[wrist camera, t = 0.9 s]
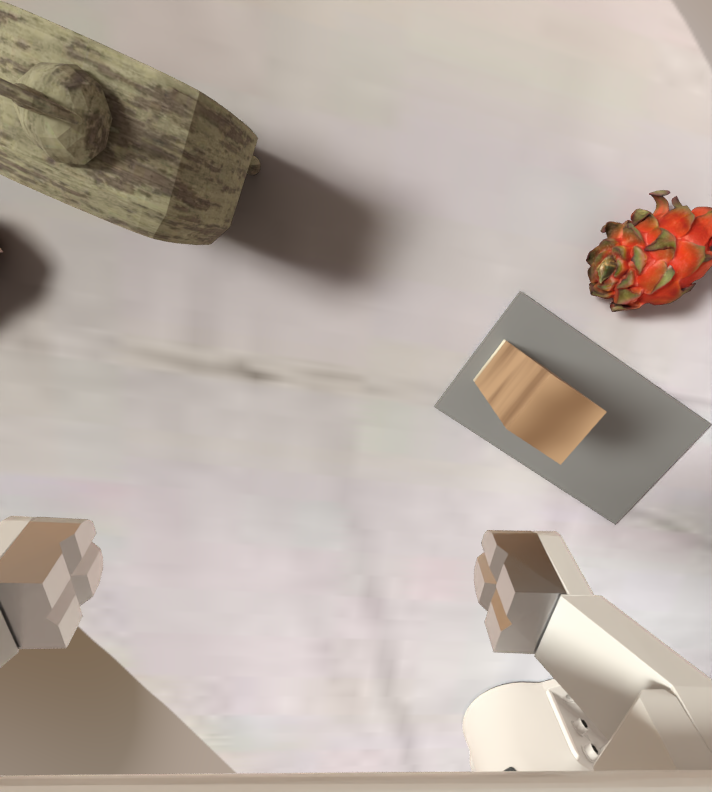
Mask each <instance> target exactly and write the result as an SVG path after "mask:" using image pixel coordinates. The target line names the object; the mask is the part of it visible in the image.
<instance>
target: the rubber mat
mask: <svg viewBox="0 0 712 792" xmlns="http://www.w3.org/2000/svg"><path fill="white" fill-rule="evenodd" d="M503 340H506V341H507V342H509V343H510V344H512V345H513V346H515V347H516V348H518V349H519V350H521V351H522V352H524V353H525V354H526V355H528V356H529V357H531V358H532V359H534V360H535V361H537V362H538V363H540V364H541V365H543V366H544V367H546V368H547V369H548V370H550V371H551V372H552V373H554V374H555V375H557V376H558V377H559V378H561V379H562V380H564V381H565V382H566V383H568V384H569V385H570V386H572V387H573V388H575V389H576V390H577V391H579V392H580V393H582V394H583V395H584V396H586V397H587V398H588V399H590V400H591V401H593V402H594V403H595V404H597V405H598V406H600V407H601V408H602V409H604V410H605V411H606V413H605V415H604V416H603V417H602V418H601V419H600V420H599V421H598V423H597V424H596V425H595V426H594V427H593V428H592V429H591V431H590V432H589V433H588V434H587V435H586V436H585V437H584V439H583V440H582V441H581V442H580V443H579V444H578V445H577V447H576V448H575V449H574V450H573V451H572V452H571V453H570V455H569V456H568V457H567V458H566V459H565V460H564V461H563V463H562V464H561V465H560V464H559V463H557V462H556V461H554V460H553V459H551V458H550V457H548V456H547V455H545V454H544V453H542V452H541V451H539V450H538V449H536V448H534V447H533V446H531V445H530V444H528V443H527V442H525V441H524V440H522V439H521V438H519V437H518V436H516V435H515V434H513V433H512V432H510V431H509V430H507V429H506V428H505V426H504V425H503V423H502V422H501V420H500V419H499V417H498V416H497V414H496V413H495V412H494V410H493V409H492V407H491V406H490V404H489V403H488V401H487V400H486V398H485V397H484V395H483V394H482V392H481V391H480V390H479V388H478V387H477V385H476V384H475V382H474V381H473V379H474V378H475V377H476V376H477V374H478V373H479V372H480V370H481V369H482V368H483V366H484V365H485V364H486V362H487V361H488V360H489V358H490V357H491V356H492V354H493V353H494V352H495V350H496V349H497V348H498V347H499V345H500V344H501V343H502V341H503ZM435 408H437V409H438V410H440V411H441V412H443V413H444V414H446V415H448V416H449V417H451V418H452V419H454V420H455V421H457V422H458V423H460V424H461V425H463V426H464V427H466V428H468V429H469V430H471V431H472V432H474V433H475V434H477V435H478V436H480V437H481V438H483V439H484V440H486V441H488V442H489V443H491V444H492V445H494V446H495V447H497V448H498V449H500V450H501V451H503V452H504V453H506V454H508V455H509V456H511V457H512V458H514V459H515V460H517V461H518V462H520V463H521V464H523V465H525V466H526V467H528V468H529V469H531V470H532V471H534V472H535V473H537V474H538V475H540V476H541V477H543V478H545V479H546V480H548V481H549V482H551V483H552V484H554V485H555V486H557V487H558V488H560V489H561V490H563V491H565V492H566V493H568V494H569V495H571V496H572V497H574V498H575V499H577V500H578V501H580V502H581V503H583V504H585V505H586V506H588V507H589V508H591V509H592V510H594V511H595V512H597V513H598V514H600V515H601V516H603V517H605V518H606V519H608V520H609V521H611V522H612V523H614V524H616V523H617V522H618V521H619V520H620V519H621V518H622V517H623V516H624V515H625V514H626V513H627V512H628V511H629V510H630V509H631V508H632V507H633V506H634V505H635V504H636V503H637V502H638V500H639V499H640V498H641V497H642V496H643V495H644V494H645V493H646V492H647V491H648V490H649V489H650V488H651V487H652V486H653V485H654V484H655V483H656V482H657V481H658V480H659V479H660V478H661V477H662V476H663V474H664V473H665V472H666V471H667V470H668V469H669V468H670V467H671V466H672V465H673V464H674V463H675V462H676V461H677V460H678V459H679V458H680V457H681V456H682V455H683V454H684V453H685V452H686V451H687V449H688V448H689V447H690V446H691V445H692V444H693V443H694V442H695V441H696V440H697V439H698V438H699V437H700V436H701V435H702V434H703V433H704V432H705V431H706V430H707V429H708V428H709V427H710V426H711V424H710V423H708V422H707V421H706V420H704V419H703V418H701V417H700V416H698V415H697V414H696V413H694V412H693V411H691V410H690V409H688V408H687V407H686V406H684V405H683V404H681V403H680V402H678V401H677V400H676V399H674V398H673V397H671V396H670V395H668V394H667V393H665V392H664V391H663V390H661V389H660V388H658V387H657V386H655V385H654V384H653V383H651V382H650V381H648V380H647V379H645V378H644V377H643V376H641V375H640V374H638V373H637V372H635V371H634V370H633V369H631V368H630V367H628V366H627V365H625V364H624V363H623V362H621V361H620V360H618V359H617V358H615V357H614V356H613V355H611V354H610V353H608V352H607V351H605V350H604V349H603V348H601V347H600V346H598V345H597V344H595V343H594V342H592V341H591V340H590V339H588V338H587V337H585V336H584V335H582V334H581V333H580V332H578V331H577V330H575V329H574V328H572V327H571V326H570V325H568V324H567V323H565V322H564V321H562V320H561V319H560V318H558V317H557V316H555V315H554V314H552V313H551V312H550V311H548V310H547V309H545V308H544V307H542V306H541V305H540V304H538V303H537V302H535V301H534V300H532V299H531V298H530V297H528V296H527V295H525V294H524V293H522V292H521V291H520V292H519V293H518V295H517V296H516V297H515V299H514V300H513V301H512V303H511V304H510V305H509V307H508V308H507V309H506V311H505V312H504V313H503V315H502V316H501V317H500V319H499V320H498V321H497V323H496V324H495V325H494V327H493V328H492V329H491V331H490V332H489V333H488V335H487V336H486V337H485V339H484V340H483V341H482V343H481V344H480V345H479V347H478V348H477V349H476V351H475V352H474V354H473V355H472V356H471V358H470V359H469V360H468V362H467V363H466V364H465V366H464V367H463V368H462V370H461V371H460V372H459V374H458V375H457V376H456V378H455V379H454V380H453V382H452V383H451V384H450V386H449V387H448V388H447V390H446V391H445V392H444V394H443V395H442V396H441V398H440V399H439V400H438V402H437V403H436V404H435Z"/></svg>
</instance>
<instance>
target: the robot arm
mask: <svg viewBox="0 0 712 792" xmlns="http://www.w3.org/2000/svg"><path fill="white" fill-rule="evenodd" d="M95 535H96V530H95V527H94V524H93V521H91V520H87V519H70V518H51V517H22V516H10V517H8V518H6V519H4V520H3V521H2V522H1V523H0V668H1V667H2V666H3V665H4V664H5V663H6V662H8V661H9V660H10V659H11V658H12V657H13V656H14V655H16V654H17V653H18V652H19V650H18V649H41V648H43V649H48V648H67V646H68V644H69V642H70V640H71V638H72V636H73V634H74V632H75V630H76V629H77V627H78V625H79V623H80V621H81V619H82V617H83V615H82V612H81V609H80V606H81V605H82V604H83V603H85V602H86V601H88V600H89V599H90V598H92V597H93V596H94V594H95V591H96V589H97V587H98V585H99V583H100V579H101V575H102V571H103V556H102V552H101V549H100V548H99V547H98V546H97V545H95V544H94V543H93V542H92V540H93V539H94V537H95ZM481 544H482V547H483V550H484V553H482V554H481V555H480V556H479V557H477V560H476V564H475V568H474V585H475V592H476V595H477V599H478V602H479V604H480V605H481V606H482V607H483V608H484V609H486V610H487V611H488V612H487V615H486V619H485V622H484V623H485V626H486V629H487V632H488V635H489V639H490V642H491V645H492V648H493V652H497V653H523V654H535V657H536V659H537V660H538V661H539V662H540V663H541V664H542V665H543V667H544V668H545V669H546V670H547V671H548V672H549V673H550V674H551V676H552V677H553V678H554V679H551V680H548V681H544V682H540V683H525V682H520V683H510V684H505V685H501V686H498V687H495V688H492V689H490V690H488V691H486V692H485V693H483V694H481V695H480V696H479V697H478V698H476V699H475V700H474V701H473V702H472V703H471V705H470V706H469V707H468V709H467V711H466V713H465V715H464V719H463V726H462V727H463V734H464V737H465V740H466V742H467V745H468V747H469V750H470V766H471V770H472V772H356V773H234V774H233V773H232V774H130V775H129V774H128V775H127V774H125V775H123V774H122V775H16V776H15V775H14V776H13V775H12V776H0V792H712V679H711V678H709V677H708V676H707V675H705V674H704V673H703V672H701V671H700V670H699V669H697V668H696V667H695V666H693V665H692V664H691V663H690V662H688V661H687V660H686V659H684V658H683V657H682V656H680V655H679V654H678V653H676V652H675V651H674V650H672V649H671V648H670V647H668V646H667V645H666V644H665V643H663V642H662V641H661V640H659V639H658V638H657V637H655V636H654V635H653V634H651V633H650V632H649V631H647V630H646V629H645V628H643V627H642V626H641V625H640V624H638V623H637V622H636V621H634V620H633V619H632V618H630V617H629V616H628V615H626V614H625V613H624V612H622V611H621V610H620V609H618V608H617V607H616V606H615V605H613V604H612V603H611V602H609V601H608V600H607V599H605V598H604V597H603V596H599V595H594V594H593V592H592V590H591V588H590V587H589V585H588V583H587V581H586V579H585V578H584V576H583V574H582V572H581V571H580V569H579V567H578V565H577V563H576V562H575V560H574V558H573V556H572V554H571V553H570V551H569V549H568V547H567V546H566V544H565V542H564V540H563V538H562V537H561V535H560V534H559V533H557V532H556V531H503V530H487V531H486V532H485V534H484V535H483V539H482V542H481Z"/></svg>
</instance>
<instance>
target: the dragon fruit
mask: <svg viewBox="0 0 712 792" xmlns="http://www.w3.org/2000/svg"><path fill="white" fill-rule="evenodd" d="M668 194H670V191H667V190H659V191H655V192H652V193H649V195H651V196H652V197H653V198H654V200H655V201H656V210H655V212H654V213H653V214H652V213H651V212H649V211H647V210H642V209H636V210H635V211H634V212H633V213H632V215H631V220H632V221H630V220H627V221H625V222H624V223H623V224H621V223H617V222H612V221H611V222H607V223H606V225H605V226H603V227H602V229H601V232H602V233H605V232H606V234H607V239H604V240H603V241H602V242H601V243H600V244H599V246H597V247H596V248H595V249H593V250H592V251H590V252H589V254H588V256H587V259H586V261H587V262H588V264H589V265H590V266H591V267H590V268H589V269H588V277H589V279H590V282H591V283H590V284H589V286H590V287H589V289H590V294H591V295H593V296H598V297H601V298H605V299H608V298H614V302H612V303H611V304H610V308H611V311H612V312H616V311H621V310H634V309H638V308H640V307H641V306H642V305H643V304H645V303H650V304H653V305H663V304H668V303H671V302H673V301H675V300H677V299H678V298H680V297H681V296H682V295H683V294H684V293H687V292H689V291H691V289H692V288H693V287H694V286H695V284H696V283H694V284H692V282H694V281H696V280H698V279H700V278H702V277H703V276H704V275H705V273H706V272H707V271H708V270H709V269H710V267H711V266H712V208H711V207H696V208H694V209H693V210H692V211H691V210H690V209H689V208H688V206H687V205H686V206H682V205H681V203H680V202H679V200H678V197H677V196H676V197H674V198H672V204H673V206H674V207H675V209H673V210H671V211H669V203H668V201H667V200H666V199H665V198H664V197H663V196H665V195H668Z"/></svg>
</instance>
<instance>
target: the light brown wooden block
mask: <svg viewBox="0 0 712 792" xmlns="http://www.w3.org/2000/svg"><path fill="white" fill-rule="evenodd" d="M473 381H474V382H475V384H476V385H477V387H478V388H479V390H480V391H481V392H482V394H483V395H484V397H485V398H486V400H487V401H488V403H489V404H490V406H491V407H492V409H493V410H494V412H495V413H496V414H497V416H498V417H499V419H500V420H501V422H502V423H503V425H504V426H505V428H506V429H507V430H509V431H510V432H512V433H513V434H515V435H516V436H518V437H519V438H521V439H522V440H524V441H525V442H527V443H528V444H530V445H531V446H533V447H534V448H536V449H538V450H539V451H541V452H542V453H544V454H545V455H547V456H548V457H550V458H551V459H553V460H554V461H556V462H557V463H559V464H560V465H561V464H562V463H563V461H564V460H565V459H566V458H567V457H568V456H569V455H570V453H571V452H572V451H573V450H574V449H575V448H576V447H577V445H578V444H579V443H580V442H581V441H582V440H583V439H584V437H585V436H586V435H587V434H588V433H589V432H590V431H591V429H592V428H593V427H594V426H595V425H596V424H597V423H598V421H599V420H600V419H601V418H602V417H603V416H604V415H605V413H606V411H605V410H604V409H602V408H601V407H600V406H598V405H597V404H595V403H594V402H593V401H591V400H590V399H588V398H587V397H586V396H584V395H583V394H582V393H580V392H579V391H577V390H576V389H575V388H573V387H572V386H570V385H569V384H568V383H566V382H565V381H564V380H562V379H561V378H559V377H558V376H557V375H555V374H554V373H552V372H551V371H550V370H548V369H547V368H546V367H544V366H543V365H541V364H540V363H538V362H537V361H535V360H534V359H532V358H531V357H529V356H528V355H526V354H525V353H524V352H522V351H521V350H519V349H518V348H516V347H515V346H513V345H512V344H510V343H509V342H507V341H506V340H503V341H502V343H501V344H500V345H499V347H498V348H497V349H496V350H495V352H494V353H493V354H492V356H491V357H490V358H489V360H488V361H487V362H486V364H485V365H484V366H483V368H482V369H481V370H480V372H479V373H478V374H477V376H476V377H475V378H474V379H473Z"/></svg>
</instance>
